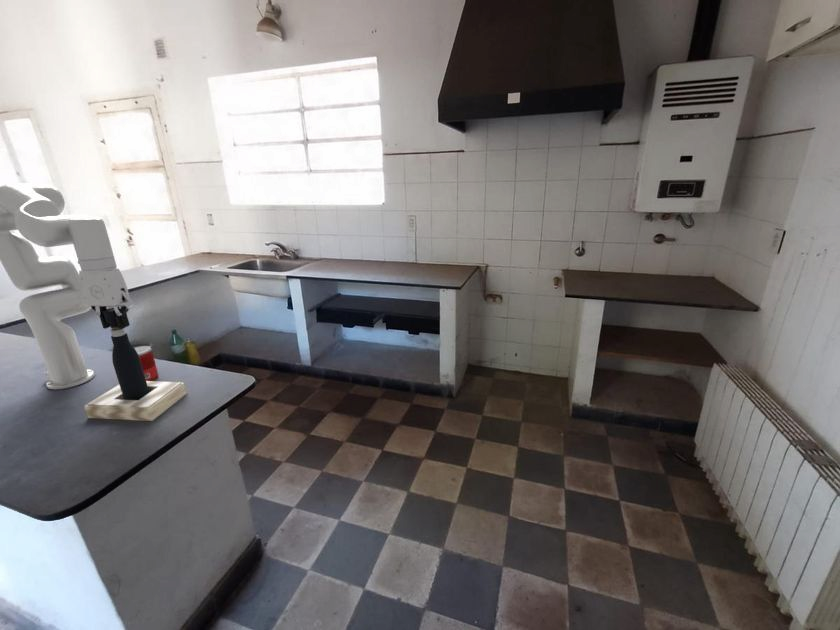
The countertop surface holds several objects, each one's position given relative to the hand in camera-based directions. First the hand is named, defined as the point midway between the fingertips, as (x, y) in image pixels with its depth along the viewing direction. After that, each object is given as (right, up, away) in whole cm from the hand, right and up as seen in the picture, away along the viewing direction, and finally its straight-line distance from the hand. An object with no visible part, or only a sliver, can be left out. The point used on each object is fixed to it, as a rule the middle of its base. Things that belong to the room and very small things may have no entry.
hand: (116, 326), depth 109 cm
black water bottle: (0, -24, +8) cm, 25 cm away
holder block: (0, -25, +9) cm, 26 cm away
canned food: (-9, -19, +24) cm, 32 cm away
